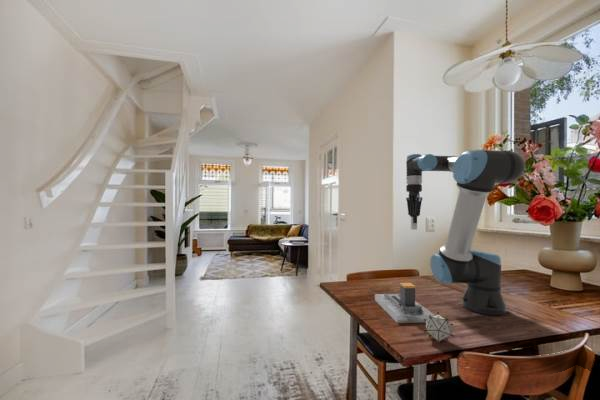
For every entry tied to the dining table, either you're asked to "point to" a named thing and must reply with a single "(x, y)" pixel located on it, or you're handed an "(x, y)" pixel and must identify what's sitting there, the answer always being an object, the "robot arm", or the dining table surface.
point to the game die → (438, 327)
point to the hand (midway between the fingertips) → (413, 229)
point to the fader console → (402, 309)
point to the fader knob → (407, 294)
